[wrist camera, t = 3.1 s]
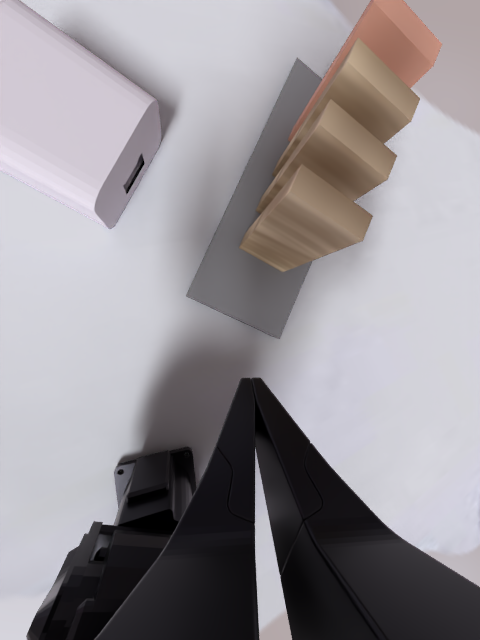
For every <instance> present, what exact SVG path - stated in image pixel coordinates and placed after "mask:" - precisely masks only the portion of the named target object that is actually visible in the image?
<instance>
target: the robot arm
mask: <svg viewBox="0 0 480 640" xmlns="http://www.w3.org/2000/svg"><path fill="white" fill-rule="evenodd" d="M255 448H256V453H257V458H258V463H259V468H260V474H261V479H262V484H263V489H264V494H265V500H266V505H267V510H268V515H269V520H270V526H271V531H272V536H273V541H274V546H275V552H276V557H277V562H278V567H279V572H280V575H281V577H280V578H281V583H282V588H283V594H284V599H285V604H286V609H287V614H288V619H289V625H290V630H291V635H292V640H480V587H479V586H477V585H476V584H474V583H473V582H471V581H469V580H468V579H466V578H465V577H463V576H461V575H460V574H458V573H457V572H455V571H453V570H452V569H450V568H448V567H447V566H445V565H444V564H442V563H440V562H439V561H437V560H436V559H434V558H432V557H431V556H429V555H428V554H426V553H424V552H423V551H421V550H420V549H418V548H416V547H415V546H413V545H411V544H410V543H408V542H407V541H405V540H404V539H402V538H401V537H400V536H398V535H397V534H396V533H394V532H393V531H392V530H391V529H390V528H388V527H387V526H386V525H385V524H384V523H383V522H382V521H381V520H380V519H379V518H378V517H377V516H376V515H375V514H374V513H373V512H372V511H371V510H370V508H369V507H368V506H367V505H366V504H365V503H364V502H363V501H362V500H361V499H360V498H359V497H358V496H357V495H356V494H355V492H354V491H353V490H352V489H351V488H350V487H349V486H348V485H347V484H346V483H345V482H344V481H343V480H342V479H341V477H340V476H339V475H338V474H337V473H336V472H335V471H334V470H333V469H332V467H331V466H330V465H329V464H328V463H327V462H326V460H325V459H324V458H323V457H322V456H321V454H320V453H319V452H318V451H317V449H316V448H315V447H314V445H313V444H312V443H310V440H309V439H308V438H307V437H306V435H305V434H304V433H303V431H302V430H301V429H300V428H299V426H298V425H297V424H296V422H295V421H294V420H293V419H292V417H291V416H290V415H289V413H288V412H287V411H286V410H285V408H284V407H283V406H282V405H281V403H280V402H279V401H278V399H277V398H276V397H275V396H274V394H273V393H272V392H271V390H270V389H269V388H268V387H267V385H266V384H265V383H264V381H263V380H262V379H261V378H251V379H250V378H241V380H240V383H239V385H238V388H237V390H236V393H235V396H234V398H233V401H232V404H231V406H230V409H229V412H228V414H227V417H226V419H225V422H224V425H223V427H222V430H221V433H220V435H219V438H218V441H217V443H216V447H215V448H214V451H213V453H212V456H211V458H210V461H209V463H208V466H207V468H206V470H205V473H204V475H203V477H202V479H201V481H200V483H199V485H198V487H197V489H196V482H195V472H194V463H193V454H192V449H191V448H189V447H185V448H181V449H177V450H173V451H164V452H160V453H156V454H152V455H148V456H144V457H140V458H138V459H137V460H133V461H128V462H124V463H121V464H119V465H117V467H116V469H115V471H114V477H115V485H116V493H117V500H118V508H119V509H118V513H117V516H116V519H115V522H114V525H102V523H103V522H95V521H94V522H93V524H92V527H91V529H90V531H89V534H84V536H83V539H82V541H81V543H80V545H79V546H78V547H76V548H75V549H73V550H72V551H70V552H69V553H68V555H67V557H66V559H65V561H64V564H63V566H62V568H61V570H60V572H59V574H58V576H57V579H56V581H55V583H54V585H53V586H52V588H51V590H50V592H49V593H48V595H47V596H46V598H45V600H44V601H43V603H42V605H41V607H40V608H39V610H38V611H37V613H36V615H35V618H34V620H33V622H32V624H31V627H30V629H29V631H28V633H27V636H26V637H27V640H259V624H258V604H257V583H256V563H255V525H254V524H255ZM186 452H188V453H189V454H188V455H185V453H186ZM120 469H123V470H124V471H123V472H120V471H119V470H120Z"/></svg>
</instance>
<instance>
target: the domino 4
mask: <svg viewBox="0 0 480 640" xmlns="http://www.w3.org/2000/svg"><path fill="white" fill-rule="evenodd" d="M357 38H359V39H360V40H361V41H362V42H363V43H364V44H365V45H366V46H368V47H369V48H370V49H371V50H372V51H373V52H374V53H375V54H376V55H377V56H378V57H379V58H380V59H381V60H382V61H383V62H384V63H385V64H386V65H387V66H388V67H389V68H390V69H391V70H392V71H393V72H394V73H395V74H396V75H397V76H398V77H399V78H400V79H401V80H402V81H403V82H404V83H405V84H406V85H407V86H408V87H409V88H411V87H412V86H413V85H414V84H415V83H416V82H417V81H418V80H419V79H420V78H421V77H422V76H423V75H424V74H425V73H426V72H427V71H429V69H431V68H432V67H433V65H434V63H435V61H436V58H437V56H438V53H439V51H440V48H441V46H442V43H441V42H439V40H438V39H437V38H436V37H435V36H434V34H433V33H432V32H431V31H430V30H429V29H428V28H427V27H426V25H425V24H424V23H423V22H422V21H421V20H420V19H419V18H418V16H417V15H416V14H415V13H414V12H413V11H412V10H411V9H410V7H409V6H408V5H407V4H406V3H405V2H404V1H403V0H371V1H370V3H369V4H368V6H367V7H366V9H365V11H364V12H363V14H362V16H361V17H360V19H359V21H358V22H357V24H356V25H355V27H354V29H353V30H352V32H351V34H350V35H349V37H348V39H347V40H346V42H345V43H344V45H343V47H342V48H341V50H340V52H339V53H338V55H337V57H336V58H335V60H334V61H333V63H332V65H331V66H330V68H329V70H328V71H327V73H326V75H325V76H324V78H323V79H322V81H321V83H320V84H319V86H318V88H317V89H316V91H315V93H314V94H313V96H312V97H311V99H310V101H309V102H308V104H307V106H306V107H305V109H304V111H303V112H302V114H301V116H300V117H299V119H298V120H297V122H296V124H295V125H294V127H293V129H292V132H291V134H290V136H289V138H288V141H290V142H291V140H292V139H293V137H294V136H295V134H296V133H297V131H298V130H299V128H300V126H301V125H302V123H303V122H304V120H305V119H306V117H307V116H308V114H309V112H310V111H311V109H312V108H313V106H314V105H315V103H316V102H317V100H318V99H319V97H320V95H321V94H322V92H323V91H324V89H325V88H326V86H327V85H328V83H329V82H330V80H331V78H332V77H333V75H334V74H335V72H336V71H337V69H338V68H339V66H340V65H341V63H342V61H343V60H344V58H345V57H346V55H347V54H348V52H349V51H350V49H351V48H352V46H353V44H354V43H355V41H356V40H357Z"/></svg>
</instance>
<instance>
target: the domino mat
mask: <svg viewBox="0 0 480 640" xmlns="http://www.w3.org/2000/svg"><path fill="white" fill-rule="evenodd" d="M321 81H322V79H321V78H320V77H319V76H318V75H317V74H315V73H314V72H313V71H312V70H311V69H310V68H309V67H307V66H306V65H305V64H304V63H303V62H302V61H301V60H299V59H298V58H297V59H296V61H295V63H294V66H293V68H292V70H291V72H290V74H289V76H288V78H287V81H286V83H285V85H284V87H283V89H282V91H281V93H280V96H279V98H278V100H277V102H276V104H275V106H274V108H273V111H272V113H271V115H270V117H269V119H268V121H267V123H266V126H265V128H264V130H263V132H262V134H261V136H260V138H259V141H258V143H257V145H256V147H255V149H254V151H253V153H252V156H251V158H250V160H249V162H248V164H247V166H246V168H245V171H244V173H243V175H242V177H241V179H240V181H239V183H238V186H237V188H236V190H235V192H234V194H233V196H232V198H231V201H230V203H229V205H228V207H227V209H226V211H225V213H224V216H223V218H222V220H221V222H220V224H219V226H218V228H217V231H216V233H215V235H214V237H213V239H212V241H211V243H210V246H209V248H208V250H207V252H206V254H205V256H204V258H203V261H202V263H201V265H200V267H199V269H198V271H197V273H196V276H195V278H194V280H193V282H192V284H191V286H190V288H189V291H188V293H187V295H186V296H187V297H189V298H191V299H194V300H196V301H198V302H200V303H202V304H204V305H207V306H209V307H211V308H213V309H215V310H217V311H219V312H222V313H224V314H226V315H228V316H230V317H232V318H235V319H237V320H239V321H241V322H243V323H245V324H247V325H250V326H252V327H254V328H256V329H258V330H260V331H263V332H265V333H267V334H269V335H271V336H273V337H275V338H278V339H280V336H281V334H282V331H283V329H284V327H285V324H286V322H287V320H288V317H289V315H290V312H291V310H292V308H293V305H294V303H295V301H296V298H297V296H298V294H299V291H300V289H301V286H302V284H303V282H304V279H305V277H306V275H307V272H308V270H309V267H310V265H311V263H312V261H310V262H308V263H305V264H302V265H300V266H297V267H295V268H292V269H290V270H287V271H285V272H281V271H279V270H278V269H276V268H274V267H272V266H270V265H269V264H267V263H265V262H263V261H262V260H260V259H258V258H256V257H254V256H253V255H251V254H249V253H247V252H245V251H244V250H242V249H240V248H239V246H240V244H241V242H242V240H243V237H244V235H245V233H246V232H247V230H248V229H249V228H250V227H251V226H252V224H253V223H254V222H255V221H256V219H257V218H258V217H259V216H260V215H261V214H260V213H258V212H257V211H256V209H257V206H258V204H259V202H260V200H261V198H262V196H263V194H264V193H265V191H266V190H267V189H268V187H269V186H270V184H271V183H272V182H273V180H274V179H275V177H274V176H273V175H272V173H273V171H274V169H275V167H276V165H277V162H278V160H279V159H280V157H281V156H282V154H283V153H284V151H285V150H286V148H287V147H288V145H289V143H290V141H288V138H289V136H290V134H291V132H292V129H293V127H294V125H295V124H296V122H297V120H298V119H299V117H300V116H301V114H302V112H303V111H304V109H305V107H306V106H307V104H308V102H309V101H310V99H311V97H312V96H313V94H314V93H315V91H316V89H317V88H318V86H319V84H320V83H321Z"/></svg>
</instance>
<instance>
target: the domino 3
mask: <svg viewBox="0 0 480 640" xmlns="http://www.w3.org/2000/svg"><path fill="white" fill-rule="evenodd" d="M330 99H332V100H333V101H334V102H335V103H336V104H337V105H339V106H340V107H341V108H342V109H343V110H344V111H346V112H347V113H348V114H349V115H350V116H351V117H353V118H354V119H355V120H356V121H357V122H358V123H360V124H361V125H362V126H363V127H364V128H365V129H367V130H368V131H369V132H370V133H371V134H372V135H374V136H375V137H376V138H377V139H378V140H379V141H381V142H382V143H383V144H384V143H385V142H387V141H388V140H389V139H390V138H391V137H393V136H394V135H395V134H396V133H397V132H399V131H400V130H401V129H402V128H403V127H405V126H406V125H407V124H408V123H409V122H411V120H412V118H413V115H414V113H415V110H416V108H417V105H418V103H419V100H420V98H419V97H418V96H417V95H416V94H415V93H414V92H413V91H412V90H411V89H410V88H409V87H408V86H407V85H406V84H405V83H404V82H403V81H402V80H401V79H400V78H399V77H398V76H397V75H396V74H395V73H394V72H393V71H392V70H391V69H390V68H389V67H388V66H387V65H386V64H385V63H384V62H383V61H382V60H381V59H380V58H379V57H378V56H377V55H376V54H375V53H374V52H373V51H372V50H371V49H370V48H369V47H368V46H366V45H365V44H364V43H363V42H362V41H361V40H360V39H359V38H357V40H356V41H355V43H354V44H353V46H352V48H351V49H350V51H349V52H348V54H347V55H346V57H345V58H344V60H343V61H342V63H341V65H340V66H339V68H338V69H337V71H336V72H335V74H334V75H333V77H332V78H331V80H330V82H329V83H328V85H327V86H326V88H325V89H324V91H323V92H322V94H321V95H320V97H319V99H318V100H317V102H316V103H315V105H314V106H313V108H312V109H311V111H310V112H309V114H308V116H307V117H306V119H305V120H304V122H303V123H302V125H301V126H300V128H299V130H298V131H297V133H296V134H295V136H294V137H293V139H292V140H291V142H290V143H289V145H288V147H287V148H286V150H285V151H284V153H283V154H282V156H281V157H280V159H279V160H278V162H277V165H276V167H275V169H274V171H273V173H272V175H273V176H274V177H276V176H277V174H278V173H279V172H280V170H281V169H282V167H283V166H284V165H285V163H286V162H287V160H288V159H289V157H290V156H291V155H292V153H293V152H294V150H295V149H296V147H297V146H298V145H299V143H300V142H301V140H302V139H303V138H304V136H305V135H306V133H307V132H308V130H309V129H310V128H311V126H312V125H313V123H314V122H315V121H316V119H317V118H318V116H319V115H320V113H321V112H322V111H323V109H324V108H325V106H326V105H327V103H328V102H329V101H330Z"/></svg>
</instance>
